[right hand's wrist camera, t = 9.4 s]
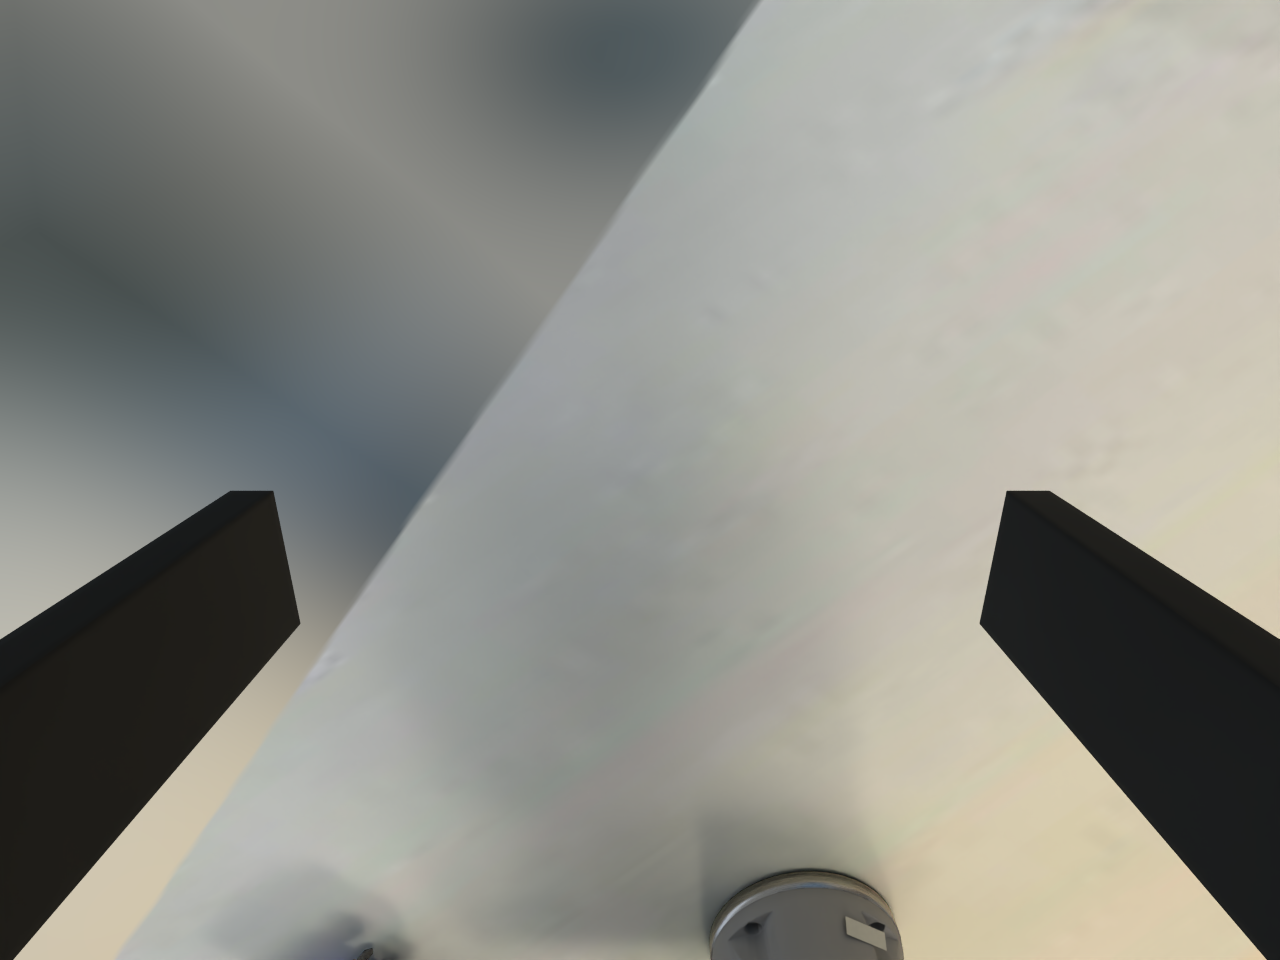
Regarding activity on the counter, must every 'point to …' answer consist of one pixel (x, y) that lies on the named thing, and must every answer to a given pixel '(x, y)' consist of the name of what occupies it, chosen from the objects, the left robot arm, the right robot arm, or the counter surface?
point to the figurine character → (365, 954)
